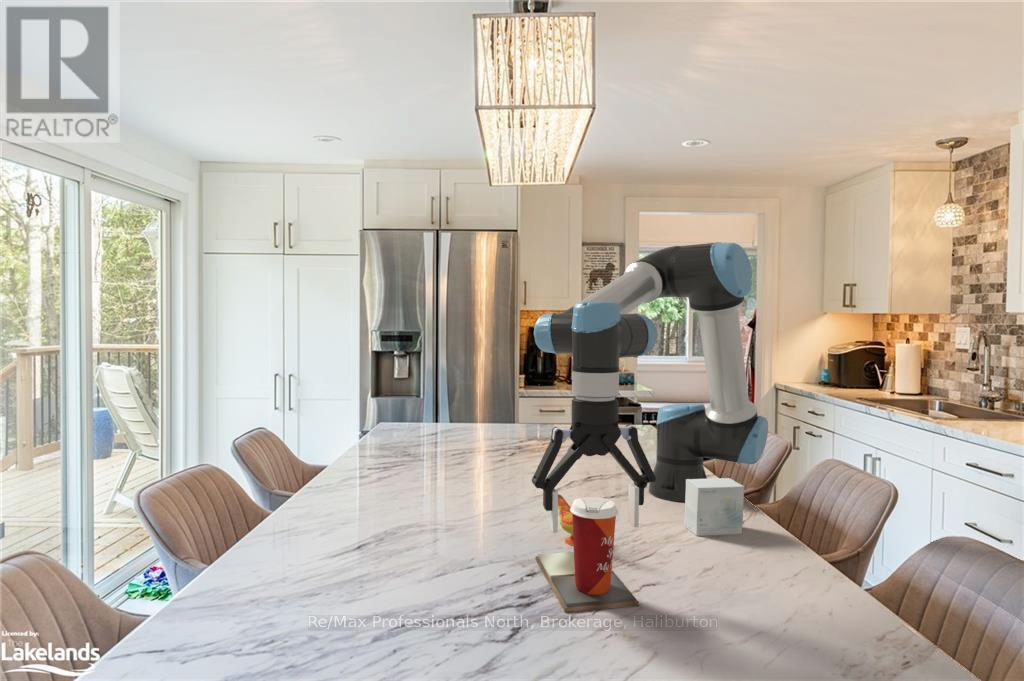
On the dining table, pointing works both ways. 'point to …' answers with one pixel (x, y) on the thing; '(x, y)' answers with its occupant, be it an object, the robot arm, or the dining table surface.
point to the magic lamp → (566, 518)
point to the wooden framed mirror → (563, 585)
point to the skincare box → (714, 506)
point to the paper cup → (593, 543)
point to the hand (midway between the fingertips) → (593, 527)
